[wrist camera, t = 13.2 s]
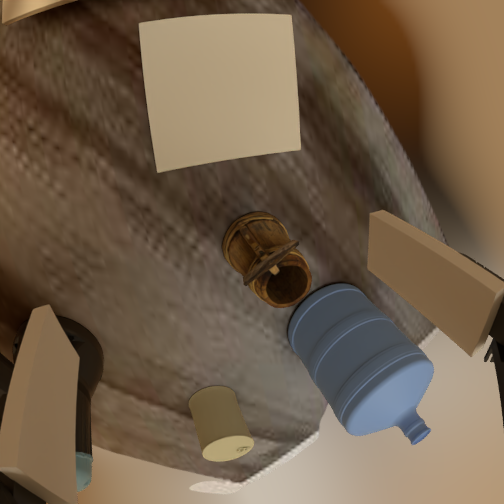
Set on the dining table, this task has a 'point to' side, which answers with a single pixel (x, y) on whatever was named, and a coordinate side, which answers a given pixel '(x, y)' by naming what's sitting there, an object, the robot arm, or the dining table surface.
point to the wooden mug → (267, 259)
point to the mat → (220, 87)
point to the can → (220, 424)
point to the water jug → (361, 362)
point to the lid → (26, 8)
